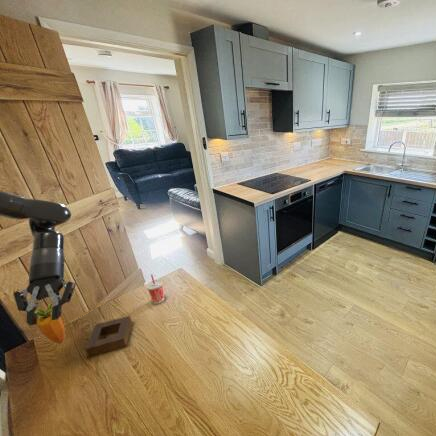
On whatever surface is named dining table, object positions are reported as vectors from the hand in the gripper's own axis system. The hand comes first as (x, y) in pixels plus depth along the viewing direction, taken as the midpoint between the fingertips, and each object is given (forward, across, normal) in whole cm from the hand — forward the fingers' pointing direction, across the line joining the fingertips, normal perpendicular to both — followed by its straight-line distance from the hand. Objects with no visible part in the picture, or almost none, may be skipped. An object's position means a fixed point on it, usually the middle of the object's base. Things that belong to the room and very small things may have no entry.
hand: (44, 321), depth 69 cm
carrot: (+7, 0, +9) cm, 11 cm away
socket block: (+9, +10, +21) cm, 25 cm away
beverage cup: (-2, +24, +32) cm, 40 cm away
